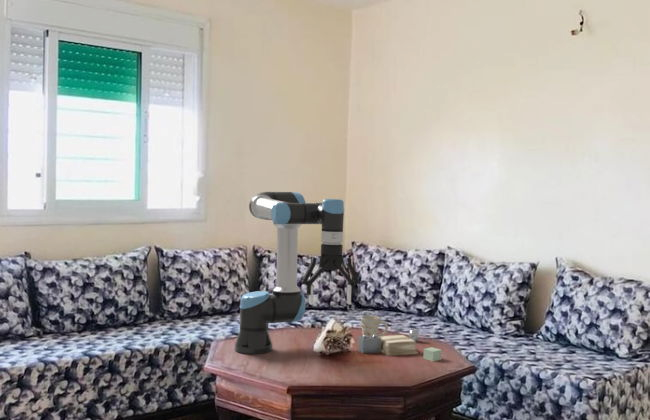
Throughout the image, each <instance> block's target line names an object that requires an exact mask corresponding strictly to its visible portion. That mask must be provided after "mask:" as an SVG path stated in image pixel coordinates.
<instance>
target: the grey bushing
mask: <svg viewBox="0 0 650 420" xmlns="http://www.w3.org/2000/svg"><path fill="white" fill-rule="evenodd" d="M419 333H420V332H419V330H418V329H416V328H415V329H414V328H411V329H409V334H408V338H410V339H412V340H414V341H416V343H419Z"/></svg>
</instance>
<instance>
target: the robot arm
mask: <svg viewBox="0 0 650 420" xmlns="http://www.w3.org/2000/svg"><path fill="white" fill-rule="evenodd" d="M344 205H345V203H344V200H343V199H338V198H324V199H323V200H322V202H315V203H311V202H307V201H306V200H305V197H304V195H303V194H301V193H299V192H293V191H263V192H259V193H257V194H254V196H252V198H251V199H250V201H249V205H248V209H249V212H250V214H251V215H252V216H253V217H254V218H256V219H259V220H265V221H272V222H273V226H274V227H275V228H276V286H275V287H274V288H273V289H272V294H270V292H269V291H265V290H262V291H259V290H256V291H252V292H246V293H244V294H243V295H241V298H240V304H239V333H238V335H237V337H236V340H235V343H234V350H235V351H236V352H237V353H239V354H241V353H242V354H248V355H261V354H266V353H269V352H271V351H272V350H273V343H272V340H271V336H270V333H269V324H279V323H280V324H282V323H283V324H284V323H290V324H291V323H294V322H295V323H296V322H299V321H301V320H302V318H303V317H304V315H305V312H306V297H305V294H303V293H302V292H301V289H300V288H299V287H298V240H299V237H298V234H299V233H298V229H299V228H300V227H301V226H302V225H321V233H320V235H321V237H320V238H321V239H320V241H321V245H320V256H319V257H315V256H312V257H311V259H310V261H311V262H310V264H309V266H308V268H307V270H306V271H305V273H304V275H303V277H302V279H301V283H302V284H304V285H306V294H307V296H308V297H309V298H308V304H309V305H311V306H313V304H314V286H313V283H314V282H315V281H316V280H317V279H318V278H319V277H320V275H321V274H322V273H323V272H324V271H325V270H326V271H337V270H338V271H339V272H340V274H341V275H342V276H343V277H344V278H345V280H346V281H347V282H348V284H347V285H346V286H347V287H346V304H347V305H351V304H352V295H354V294H355V286H356V285H357V284H360V279H359V278H358V275H357V273H356V270H355V268H354V266H353V264H352V258H351V257H349V256H346V257H343V250H344V249H343V246H344V245H343V244H342V243H343V241H344V236H343V235H344V213H345V206H344ZM318 263H320V266H319V267H318V269H317V270H316V271H315V272H314V273H313V271H314V269H315V267H316V265H317V264H318ZM343 263H345V264H346V266H347V268H348V270H349V272H350V275H351V277H352V278H351V277H350V276H349V274H348V273H347V271H346V270H344V268H343V266H342V265H343ZM312 273H313V274H312ZM311 274H312V276H311Z"/></svg>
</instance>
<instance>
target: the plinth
mask: <svg viewBox="0 0 650 420" xmlns="http://www.w3.org/2000/svg"><path fill="white" fill-rule="evenodd" d="M379 337H380V338H381V352H380V353H382V354H384V355H385V356H388V357H390V356H391V357H392V356H407V355H409V356H410V355H418V354H419V352H418V351H417V350H416V343H417V342H416V341H414V340H412V339H410V338H409V336H406V335H404V334H394V335H393V334H392V335H391V334H390V335H383V336H379Z"/></svg>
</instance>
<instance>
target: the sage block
mask: <svg viewBox="0 0 650 420" xmlns="http://www.w3.org/2000/svg"><path fill="white" fill-rule="evenodd" d="M423 358H424V360H427V361H431V362H437V361H441V360H442V349H439V348H435V347H427V348H423Z"/></svg>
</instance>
